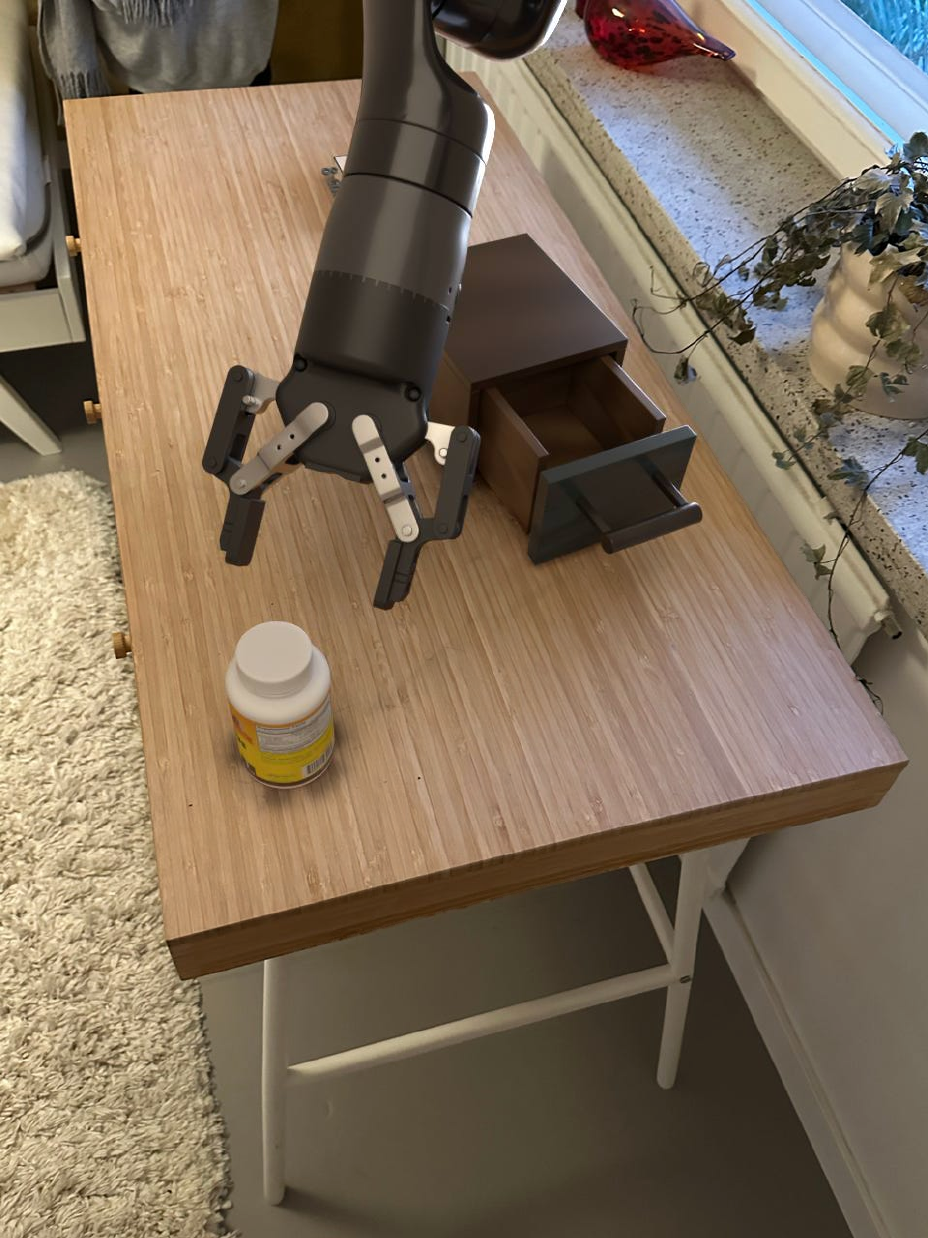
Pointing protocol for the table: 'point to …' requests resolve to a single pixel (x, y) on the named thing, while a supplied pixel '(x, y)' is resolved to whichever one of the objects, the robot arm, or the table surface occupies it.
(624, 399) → the drawer
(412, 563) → the robot arm
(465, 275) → the cabinet
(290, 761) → the supplement bottle
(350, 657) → the table surface
